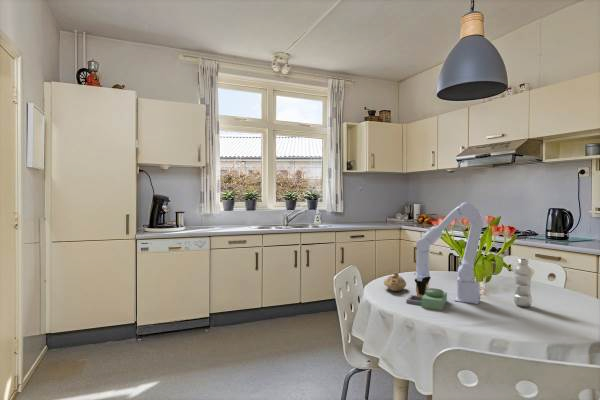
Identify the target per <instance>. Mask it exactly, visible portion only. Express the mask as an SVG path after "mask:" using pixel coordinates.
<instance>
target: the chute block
mask: <svg viewBox="0 0 600 400" xmlns="http://www.w3.org/2000/svg"><path fill="white" fill-rule="evenodd" d="M429 285H430V282H429V283H427V284H426V287H425V293H426V289H429V288H430V286H429ZM415 286H416V287H415V291H416V296H424V295H420V294H419V292H418V287H417V284H416V283H415ZM425 293H424V294H425Z"/></svg>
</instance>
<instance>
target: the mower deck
mask: <svg viewBox="0 0 600 400" xmlns="http://www.w3.org/2000/svg"><path fill="white" fill-rule="evenodd" d="M447 302H448V293H447V292H445V291H444V290H443V289H439V288H432V287H431V288H430V287H429V289H426V293H425V294H424V296H417V294H416V295H414V294H410V295H409V297H408V298H406V301H405V303H406V304H411V305H416V306H421V308H422V309H423V308H424V309H430V310H431V309H432V310H437V311H443V309H444V307H445V306H446V304H447Z"/></svg>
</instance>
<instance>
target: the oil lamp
mask: <svg viewBox="0 0 600 400" xmlns="http://www.w3.org/2000/svg"><path fill="white" fill-rule="evenodd" d="M383 285H384V286H386V287H387V288H388V290H390V291H393V292H400V291H401V290H403V289H404V288H406V287H407V282H406V281H405V279H404V278H403V277H402V276H400V274H399V271H395V272H394V273H393V275H391V276H388V277H387V278H386V279H384V281H383Z"/></svg>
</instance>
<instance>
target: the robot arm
mask: <svg viewBox="0 0 600 400" xmlns="http://www.w3.org/2000/svg"><path fill="white" fill-rule="evenodd" d="M463 217H464V218H466V220H467V221H468V222H469V224H470V227H469V230H468V236H467V241H466V243H465V249H464V252H463V253H464V254H463V257H462V259H461V263H460V265H459V266H458V267H457V274H458V277H457V278H456V297H455V298H454V301H455V302H461V303H467V304H475V305H476V304H477V305H478V304H480V300H481V294H480V293H481V292H480V291H481V289H480V287H481V286H480V281H475V279H474V278H475V272H474V267H475V260H476V255H477V251H478V247H479V243H480V239H481V235H482V230H483V226H484V219H483V218H482V216H481V213H480V212H479V209H478V208H477V207H476V206H475V205H474V204H473V203H471V202H469V201H465V202H462V203H461V204H459V205H458V206H456V207H454V209H453V210H451V211H450V212H449V213H448V215H446V216H445V217H444V219H442V221H441V222H439V224H437V225H436V226H435V225H433V226H432V227H428V228H427V231H426V232H425V233H424V234H423V235H422V234H421V236H420V238H419V239H418V240H417V241H416V244H415V245H416V246H415V247H416V256H415V257H416V261H415V263H416V265H415V267H416V268H415V269H416V270H415V271H416V272H413V275H416V278H415V279H414V283H415V285H416V284H417V287H418V292H419V294H420V295H424V293H425V287H426V284H427V283H429V284H430V280H431V276H430V253H429V252H430V247H431V246H432V245H434V244H435V243H436V242H437V241H439V240H440V238H442V236H443V231H445V229H446V228H447V227H449V226H450V224H452V223H453V222H454V221H455V220H457V219H462V218H463Z"/></svg>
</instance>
